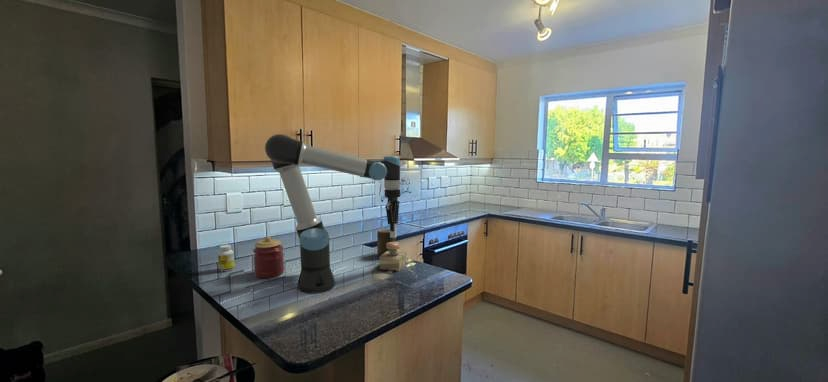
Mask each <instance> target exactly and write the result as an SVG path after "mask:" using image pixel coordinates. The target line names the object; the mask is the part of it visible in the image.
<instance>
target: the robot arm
mask: <svg viewBox="0 0 828 382" xmlns="http://www.w3.org/2000/svg"><path fill="white" fill-rule="evenodd" d="M264 151H265V154H266V156H267V157H268V159H270V161H271V164H272V167H273V170H274V171H275V172H278V173H279V175H280V178H281V180H282V183H283V187H284V189H285V190H284V191H285V192H286V195H287V198H288V200H289V203H290V206H291V208H292V211H293V215H294V217H295V220H296V222H297V225H296V227H295V231H296V233H297V236H298V239H299V250H300V251H299V252H300V254H299V255H300V273H299V277H298V280H297V282H296V283H297V284H296V285H297V291H299V292H301V293H304V294H320V293H324V292H326V291H329V290H331V289H333V288H334V287H335V285H336V279H335V276H334V274H333V271H332V268H331V259H330V234H329V232H328V231H327V230H326V229H325V227H324V224H323V220H322V219H321V218H319V217H318V216H317V215H316V211H315V208H314V205H313V203H312V200H311V197H310V193H309V191H308V188H307V186H306V183H305V179H304V177H303V174H302V170H301V168H300V166H301V165H302V164H303V165H306V166H307V165H308V166H310V167H311V166H312V167H316V168H322V169H325V170H330V171H334V172H339V173H343V174H348V175H352V176H357V177H360V178H364V179H365V178H367V179H370V180H374V181H382V180H383V183H384V184H383V185H384V186H383V187H384V197H385V199H386V198H387V204H384V205H385V212H386V218H387V219H386V221H387V225H389V229H390V238H395V239H396V238H397V224H399V211H400V201H398V198H400V197H401V189H400V188H401V184H402V182H401V162H400V161H401V160H400V157H399V156H397V155H385V156H384V157H383V160H369V159H366V158H362V157H357V156H353V155H349V154H345V153H340V152H337V151H332V150H328V149H323V148H319V147H316V146H312V145H307V144H306V143H305V142H304V141H302V140H298V139H294V138H292V137H291V136H289V135H286V134H282V133H279V134H273V135H272V136H270V137H269V138H268V139H267V140H266V142H265V145H264Z"/></svg>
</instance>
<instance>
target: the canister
mask: <svg viewBox="0 0 828 382" xmlns="http://www.w3.org/2000/svg"><path fill="white" fill-rule="evenodd" d="M253 246H254V248H253V250H252V253H253V257H252V259H253V268H254V269H253V274H254V277H256V278H259V279H272V278H275V277H276V278H277V277H279V276H281V275H283V274H284V272H285V264H284V263H285V262H284V261H285V260H284V256H285V254H284V252H283V249H284V246H283V245H282V242H281V241H280V240H278V238H277V239H276V238H271V236H268V235H266V236H265V237H264V239H261V240H258V241H257V242H256V243H254V245H253Z"/></svg>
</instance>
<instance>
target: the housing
mask: <svg viewBox="0 0 828 382" xmlns="http://www.w3.org/2000/svg"><path fill="white" fill-rule="evenodd" d="M378 258H379V259H378V261H379V270H385V269H389V270H388V271H393V270H396V271H395V272H400V271H401V270H402V269H403V268H404V267H405V266H406V265H407V252H404V251H397V256H396V257H395V256H389V251H386V252H385V253H384V254H382V255H381V256H380V257H379V256H378Z"/></svg>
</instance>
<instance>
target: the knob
mask: <svg viewBox="0 0 828 382" xmlns="http://www.w3.org/2000/svg"><path fill="white" fill-rule="evenodd" d="M386 248H387V249H389V256H395V257H396V256H397V252H398V251H397V250H398V249H400V242H398V241H395V242H388V243H386Z"/></svg>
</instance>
